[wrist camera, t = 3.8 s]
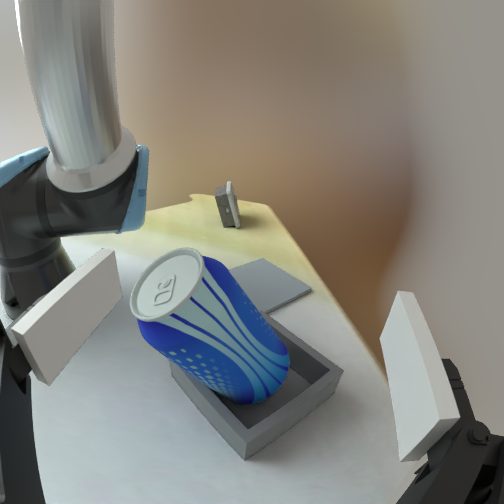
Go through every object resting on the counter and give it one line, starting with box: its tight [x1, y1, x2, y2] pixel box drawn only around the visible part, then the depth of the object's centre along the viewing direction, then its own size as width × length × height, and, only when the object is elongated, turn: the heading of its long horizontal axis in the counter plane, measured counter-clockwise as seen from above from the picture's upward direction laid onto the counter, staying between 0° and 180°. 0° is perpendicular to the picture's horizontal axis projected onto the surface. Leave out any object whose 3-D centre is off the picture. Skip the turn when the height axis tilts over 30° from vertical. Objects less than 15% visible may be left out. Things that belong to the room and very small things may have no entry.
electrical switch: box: [215, 181, 240, 228], centre depth 71 cm, size 9×5×9 cm, turn 3°
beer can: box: [130, 248, 290, 405], centre depth 26 cm, size 8×8×16 cm
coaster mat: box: [229, 258, 311, 314], centre depth 49 cm, size 12×12×1 cm
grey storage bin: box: [169, 310, 344, 460], centre depth 30 cm, size 13×13×4 cm
